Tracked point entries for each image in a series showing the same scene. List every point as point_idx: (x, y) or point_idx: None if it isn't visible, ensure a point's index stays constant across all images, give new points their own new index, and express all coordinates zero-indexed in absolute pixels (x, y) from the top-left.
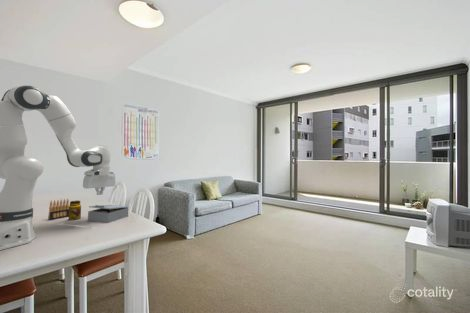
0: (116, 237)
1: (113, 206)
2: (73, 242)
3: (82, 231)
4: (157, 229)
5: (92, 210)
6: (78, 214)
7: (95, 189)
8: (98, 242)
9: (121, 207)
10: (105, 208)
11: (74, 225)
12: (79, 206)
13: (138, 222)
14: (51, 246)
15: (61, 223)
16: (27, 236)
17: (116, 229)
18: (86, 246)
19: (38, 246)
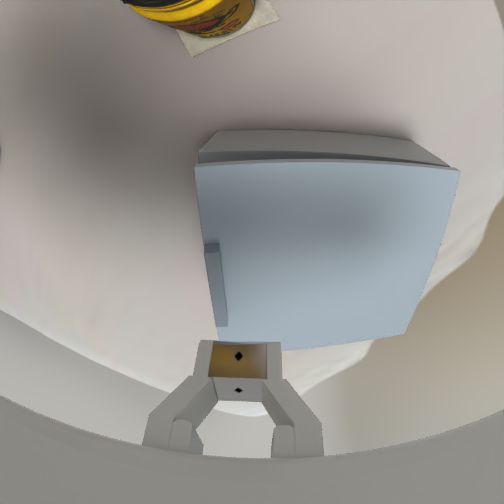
0: (147, 372)
1: (340, 298)
2: (61, 309)
3: (106, 256)
4: (250, 412)
5: (240, 157)
6: (202, 31)
7: (154, 414)
8: (103, 356)
9: (338, 341)
10: (218, 330)
11: (132, 124)
12: (190, 18)
13: (304, 358)
14: (24, 283)
15: (130, 8)
16: None
17: (194, 344)
18: (78, 347)
19: (4, 255)
